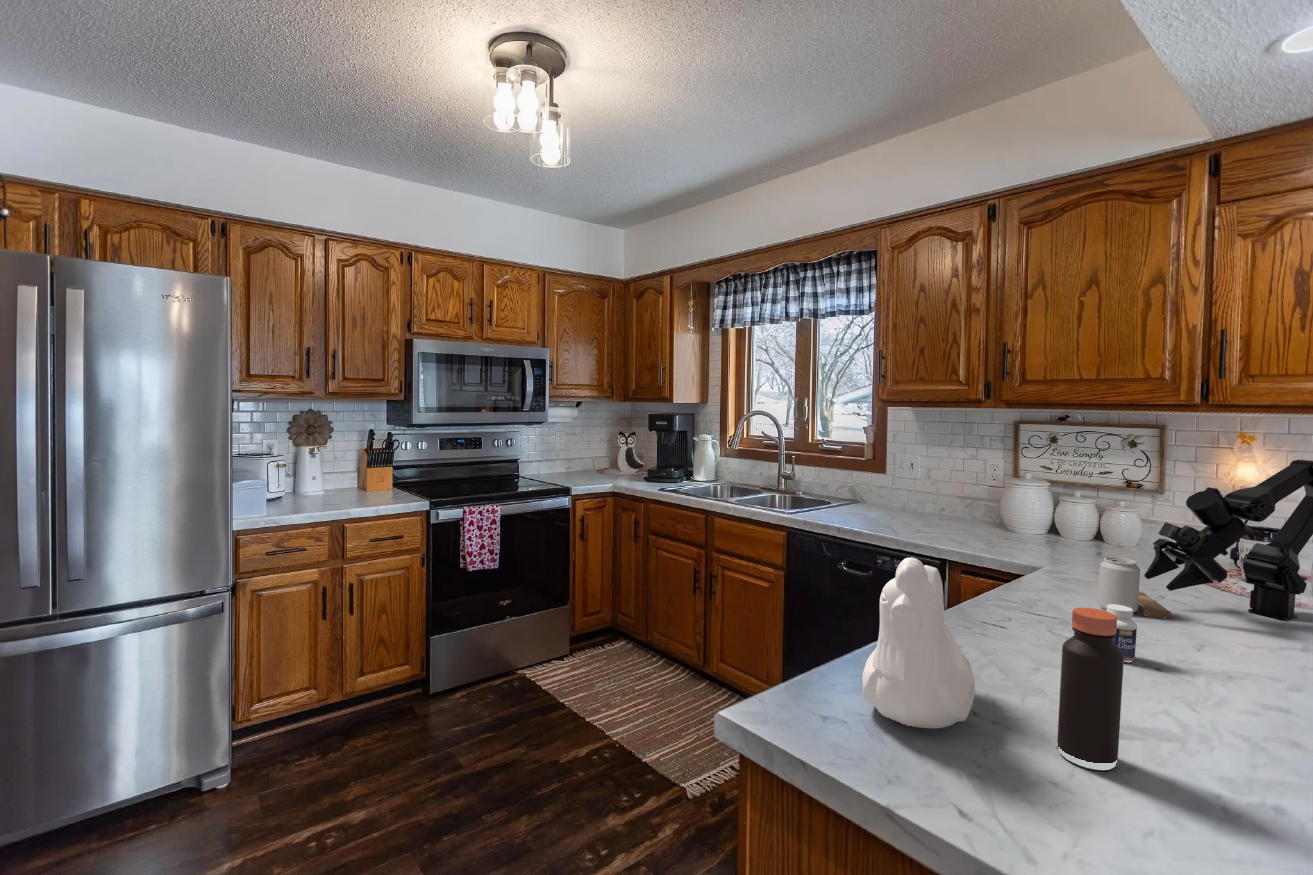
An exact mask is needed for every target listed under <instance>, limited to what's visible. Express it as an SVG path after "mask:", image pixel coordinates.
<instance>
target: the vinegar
mask: <svg viewBox="0 0 1313 875" xmlns="http://www.w3.org/2000/svg"><path fill="white" fill-rule="evenodd" d="M1071 614H1072V616H1071V618H1072V619H1071V626H1072V627H1071V629H1072V631H1073V636H1071V637H1070V638H1068V639H1067V640H1066V641H1064V642H1063V643H1062V646H1061V648H1062V649H1061V668H1060V681H1059V682H1060V684H1059V686H1060V687H1059V703H1058V704H1059V705H1058V719H1057V720H1058V722H1057V738H1056V739H1057V741H1056V742H1057V743H1058V747H1060V749H1062V751H1064V752H1065V753H1067V754H1069V755H1071V756H1074V757H1075V758H1078V759H1081V760H1085V761H1087V762H1093V763H1113V762H1115V761H1116V760H1117V758H1118V759H1119V747H1120V746H1119V744H1120V728H1121V713H1122V712H1121V710H1122V696H1123V693H1122V692H1123V678H1124V664H1125V663H1124V657H1123V655H1122V653H1121V652H1120V650H1119V649H1118V648H1117V647H1116V646H1115V645H1114V644H1113V638H1115V637H1116V635H1115V634H1116V630H1117V617H1116V616H1115V615H1114V614H1112V613H1109V612H1107V611H1106V610H1104V609H1103V610H1102V609H1098V608H1092V607H1075V608H1072V613H1071ZM1057 743H1056V744H1057Z"/></svg>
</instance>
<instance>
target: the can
mask: <svg viewBox="0 0 1313 875" xmlns="http://www.w3.org/2000/svg"><path fill="white" fill-rule="evenodd" d="M1137 564H1138V562H1137V561H1136V560H1133V559H1130V558H1126V557H1118V556H1106V557H1105V556H1104V557H1103V561H1102V562H1100V564H1099V577H1098V578H1099V580H1098V595H1097V596H1098V598H1097V605H1098V606H1100V608H1103V611H1107V605H1109V604H1116V605H1122V606H1126V607H1129V608H1132V609H1133V614H1134V613H1136V612H1138V611H1137V610H1138V597H1139V591H1140V581H1141V580H1140V578H1141V569H1140V567H1139V566H1138V565H1137Z"/></svg>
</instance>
